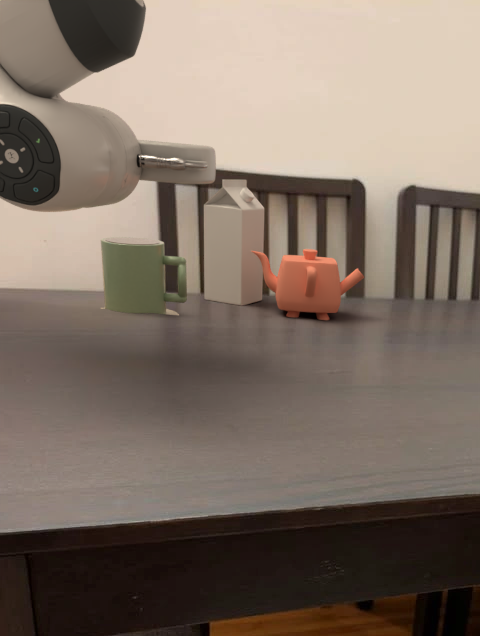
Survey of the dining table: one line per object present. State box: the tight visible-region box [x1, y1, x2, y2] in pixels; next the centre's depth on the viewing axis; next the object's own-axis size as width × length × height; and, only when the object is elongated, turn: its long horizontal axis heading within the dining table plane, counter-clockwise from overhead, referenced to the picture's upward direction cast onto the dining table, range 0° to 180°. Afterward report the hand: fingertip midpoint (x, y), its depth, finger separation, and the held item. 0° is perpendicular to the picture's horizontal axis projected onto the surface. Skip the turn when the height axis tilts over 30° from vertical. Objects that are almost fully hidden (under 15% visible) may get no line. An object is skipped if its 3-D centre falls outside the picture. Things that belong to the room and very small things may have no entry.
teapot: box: [252, 248, 365, 321], centre depth 115 cm, size 14×12×10 cm
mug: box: [100, 236, 188, 316], centre depth 103 cm, size 13×12×11 cm
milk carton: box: [203, 179, 265, 306], centre depth 119 cm, size 7×7×19 cm
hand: (138, 157), depth 82 cm, fingers closed
